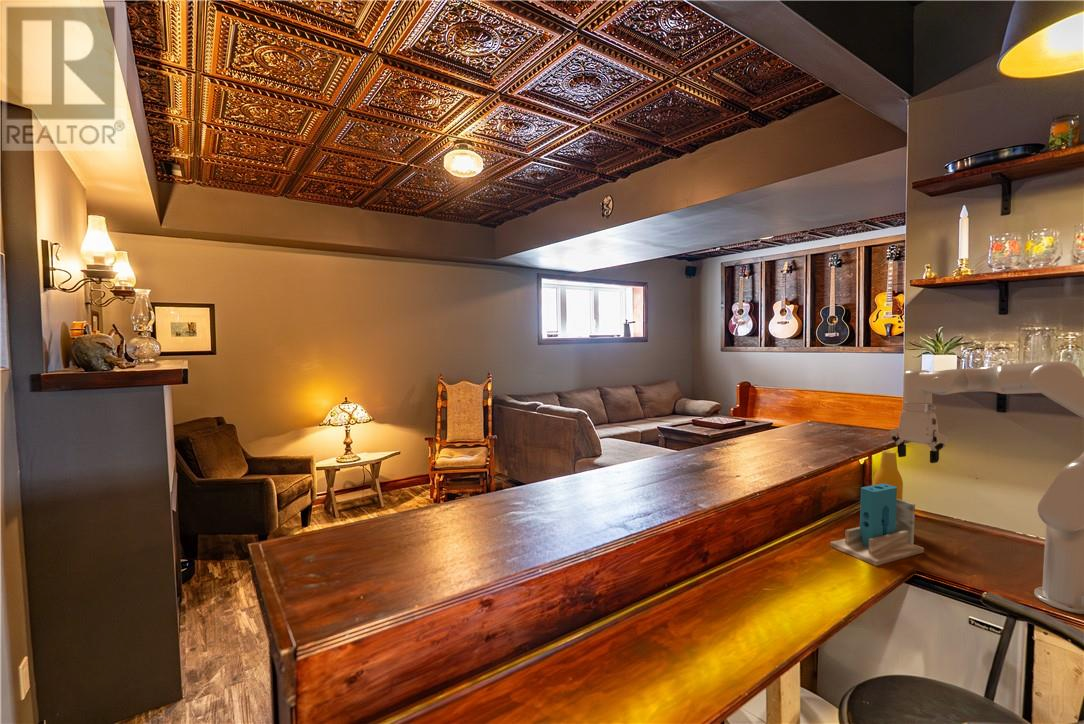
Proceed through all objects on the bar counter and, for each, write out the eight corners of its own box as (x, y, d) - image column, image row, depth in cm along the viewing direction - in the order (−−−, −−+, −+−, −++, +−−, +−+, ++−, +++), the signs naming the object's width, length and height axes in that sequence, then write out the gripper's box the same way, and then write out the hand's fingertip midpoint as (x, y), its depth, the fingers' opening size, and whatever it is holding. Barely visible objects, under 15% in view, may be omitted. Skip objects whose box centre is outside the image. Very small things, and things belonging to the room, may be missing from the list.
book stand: (923, 552, 170) (925, 507, 169) (875, 565, 161) (877, 518, 160) (876, 534, 185) (877, 493, 184) (830, 546, 176) (831, 502, 175)
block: (881, 539, 177) (883, 483, 176) (896, 545, 173) (898, 487, 171) (857, 545, 173) (859, 487, 171) (872, 551, 168) (874, 492, 167)
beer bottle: (866, 525, 194) (868, 450, 192) (881, 521, 198) (883, 447, 196) (891, 534, 185) (894, 455, 183) (907, 529, 189) (909, 453, 187)
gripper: (954, 409, 160) (954, 463, 160) (897, 404, 176) (897, 453, 176) (940, 411, 157) (940, 466, 157) (883, 406, 173) (883, 455, 173)
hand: (917, 459), depth 167 cm, fingers open, 9 cm apart
